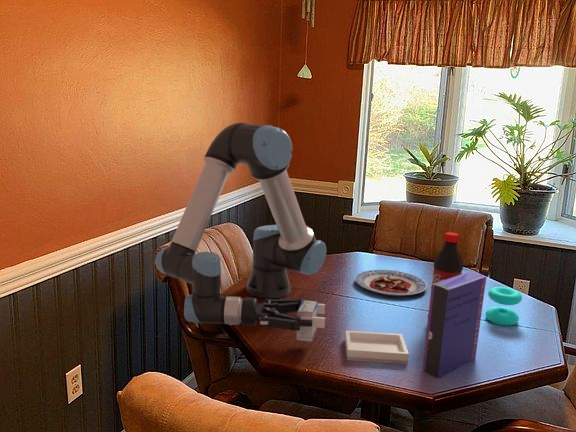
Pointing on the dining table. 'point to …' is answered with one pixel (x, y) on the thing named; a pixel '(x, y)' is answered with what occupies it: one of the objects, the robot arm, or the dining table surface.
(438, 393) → the dining table surface
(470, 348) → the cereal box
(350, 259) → the dining table surface
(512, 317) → the donuts
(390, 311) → the dining table surface
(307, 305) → the medicine box
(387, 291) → the ceramic plate
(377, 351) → the tray
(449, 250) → the cola bottle
